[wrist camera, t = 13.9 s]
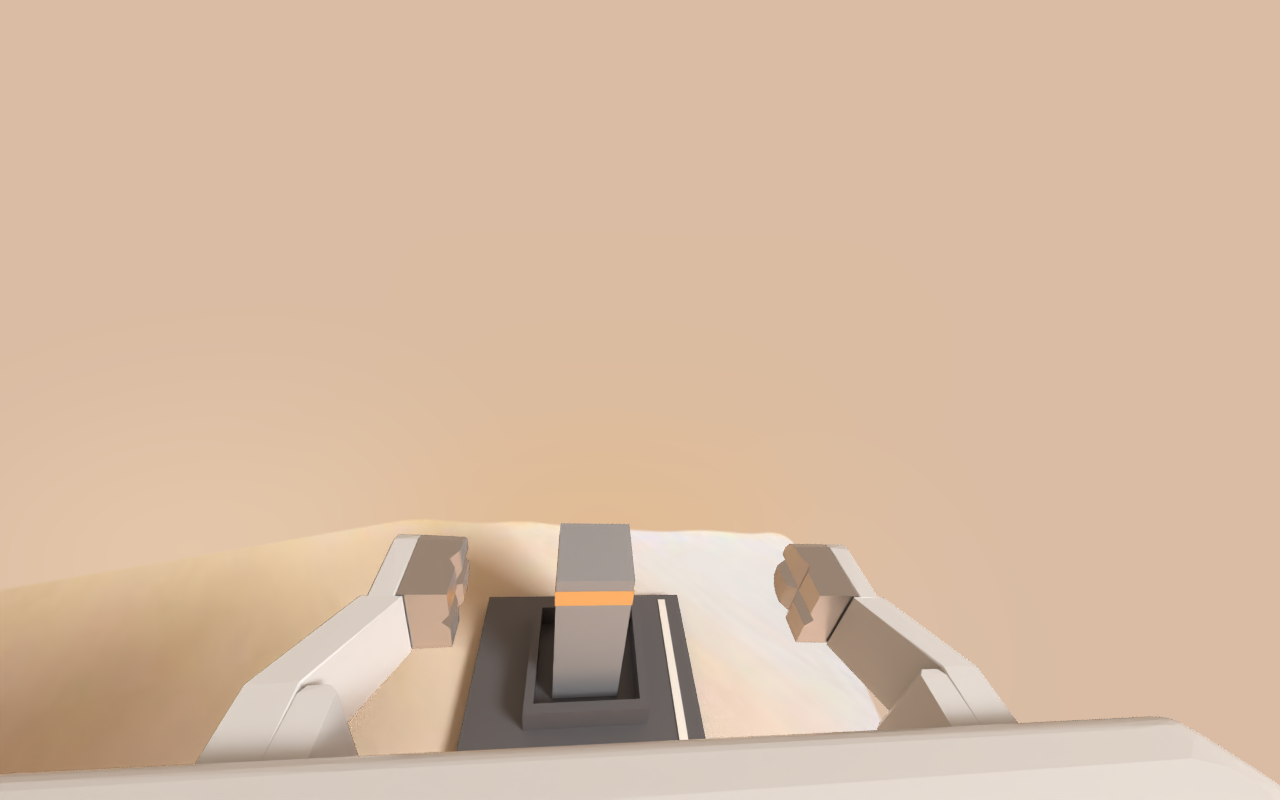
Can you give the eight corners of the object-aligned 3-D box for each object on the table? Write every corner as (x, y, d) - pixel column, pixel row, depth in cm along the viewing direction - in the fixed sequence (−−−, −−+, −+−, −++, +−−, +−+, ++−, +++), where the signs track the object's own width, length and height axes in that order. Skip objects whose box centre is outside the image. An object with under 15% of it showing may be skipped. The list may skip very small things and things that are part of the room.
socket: (453, 777, 28) (449, 753, 26) (490, 605, 38) (488, 581, 37) (705, 760, 30) (714, 737, 29) (675, 602, 40) (680, 579, 39)
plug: (551, 699, 31) (555, 581, 26) (555, 636, 35) (560, 522, 30) (617, 696, 32) (636, 581, 26) (614, 635, 36) (629, 523, 30)
